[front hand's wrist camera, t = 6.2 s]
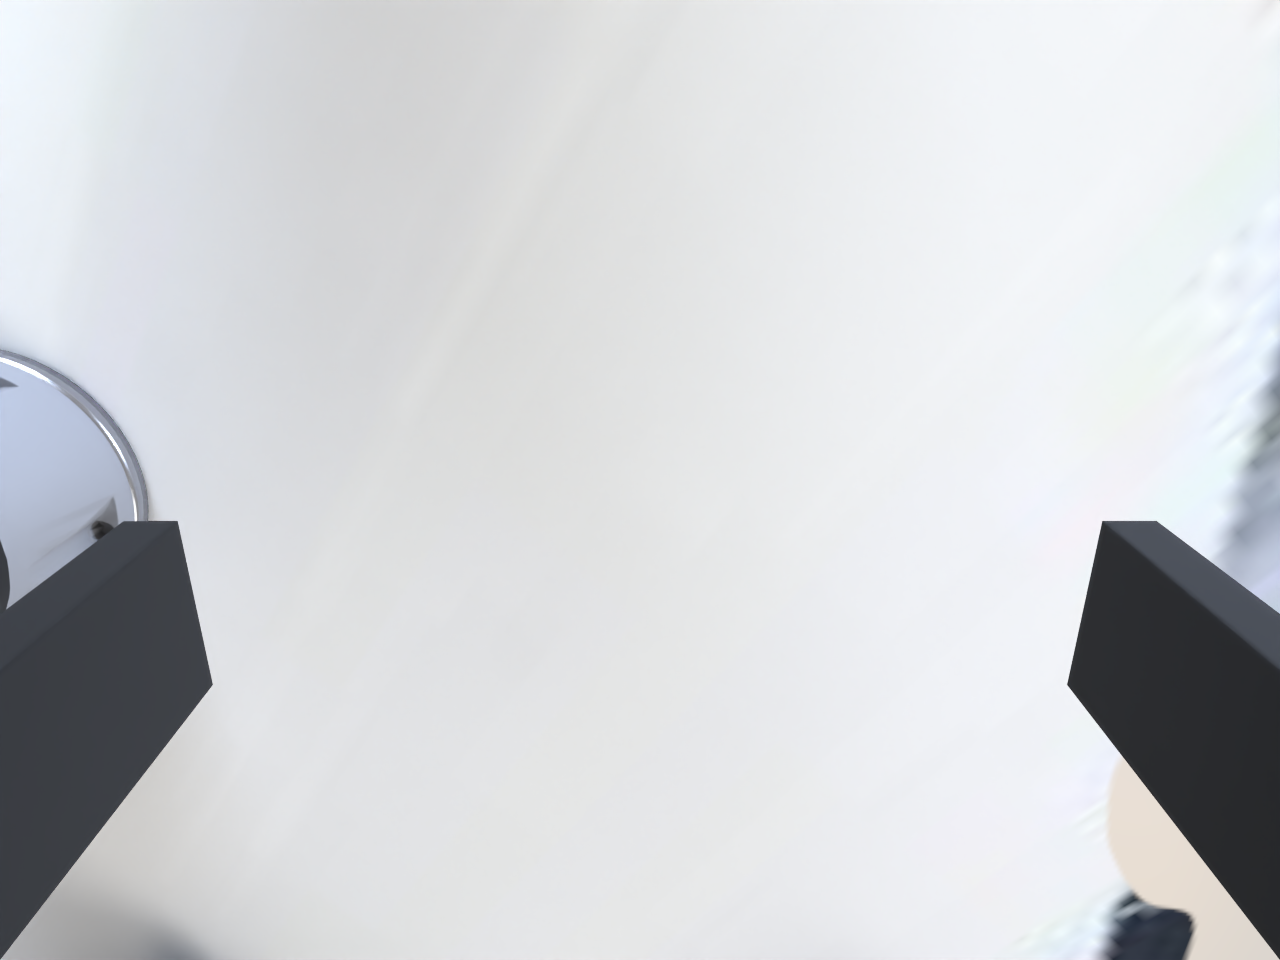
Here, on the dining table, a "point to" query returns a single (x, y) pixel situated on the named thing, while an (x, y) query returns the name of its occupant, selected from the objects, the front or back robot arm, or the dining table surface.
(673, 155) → the dining table surface
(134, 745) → the front robot arm
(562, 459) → the dining table surface
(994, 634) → the dining table surface
